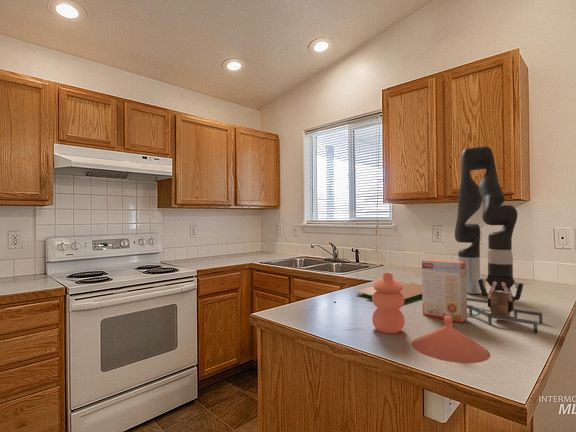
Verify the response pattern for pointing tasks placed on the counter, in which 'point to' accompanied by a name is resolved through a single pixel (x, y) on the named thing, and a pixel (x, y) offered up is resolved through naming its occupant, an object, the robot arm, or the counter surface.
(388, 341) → the counter surface
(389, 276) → the ceramic vessels
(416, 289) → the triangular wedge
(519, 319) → the wire channel
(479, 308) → the mat
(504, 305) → the walnut block
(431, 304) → the cracker box
